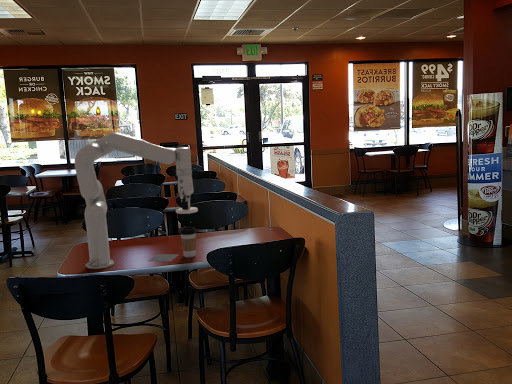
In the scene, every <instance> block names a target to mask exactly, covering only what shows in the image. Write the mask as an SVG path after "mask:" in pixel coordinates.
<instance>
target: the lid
mask: <svg viewBox="0 0 512 384" xmlns="http://www.w3.org/2000/svg"><path fill="white" fill-rule="evenodd" d="M187 201H188V209H182V207H180V208H177V209H175V213H176V214H178V215H181V214H183V215H185V214H186V215H187V214H193V213H197V212H198V211H199V209H198V207H195V206H191V208H190V198H187Z"/></svg>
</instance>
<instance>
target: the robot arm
mask: <svg viewBox="0 0 512 384" xmlns="http://www.w3.org/2000/svg"><path fill="white" fill-rule="evenodd" d="M115 151H116V152H120V153H124V154H127V155H131V156H135V157H138V158H142V159H146V160H149V161H154V162H157V163H161V164H165V165H171V164H172V163H174V162H175V166H176V170H175V172H176V176H177V191H178V195H179V198H180V202H181V208H182V209H188V201H187V198H190V208H191V207H192V200H191V199H192V197H191V196H192V194H193V193H194V184H193V183H194V181H193V177H192V175H193V171H192V170H193V169H192V158H191V157H192V156H191V155H192V154H191V148H190V147H188V146H187V147H184V146H183V147H177V148H175V147H164V146H160V145H157V144H153V143H151V142H149V141H146V140H144V139H142V138H138V137H134V136H131V135H126V134H123V133H120V132H118V131H112V132H109V133H108V134H106V135H105V136H104V135H103V136H102V137H101V138H98V139H96V140H94V141H92V142H89V143H86V144H85V145H83V146H82V147H81V148H80V149H79V150H78V151H77V152H76V155H75V158H74V169H75V173H76V178H77V182H78V186H79V191H80V194H81V197H82V198H83V199H84V200H85V205H86V207H85V209H84V221H85V227H86V236H87V245H88V246H87V247H88V255H89V257H88V258H89V260H88V262H87V263H85V267H86V268H87V269H91V270H99V269H106V268H109V267H112V266H113V265H115V262H114V260H113V259H111V256H110V245H109V234H108V224H107V212H108V205H107V201H106V196H105V193H104V188H103V185H102V183H101V182H100V180H99V179H97V175H96V174H97V173H96V171H95V167H94V164H95V161H97V160H99V159H101V158H103V157H105V156H107V155H109V154H110V153H111V154H112V152H115Z"/></svg>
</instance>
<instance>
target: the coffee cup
mask: <svg viewBox="0 0 512 384" xmlns="http://www.w3.org/2000/svg"><path fill="white" fill-rule="evenodd" d="M179 235H180V241H181V246H182V247H181V248H182V251H183V252H182V253H183V257H185V258H193V257H196V254H197V253H196V250H197V229H196V227H192V226H186V227H181V228H180V233H179Z"/></svg>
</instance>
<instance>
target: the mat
mask: <svg viewBox="0 0 512 384" xmlns="http://www.w3.org/2000/svg"><path fill="white" fill-rule="evenodd" d="M178 256H179V254H176V253H175V254H174V253H171V254H169V253H168V254H166V253H157V254H155V255H154V256H153V257H151V258H150V259H148V262H173V261H174V260H175V259H176V258H177V257H178Z"/></svg>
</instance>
